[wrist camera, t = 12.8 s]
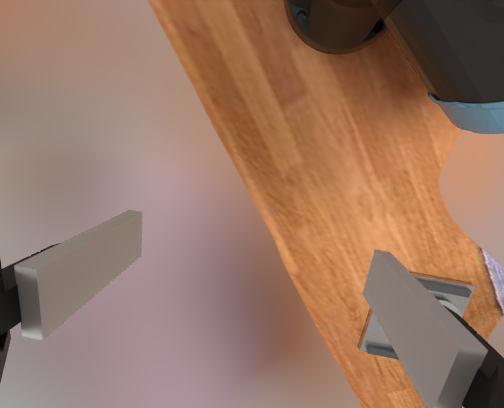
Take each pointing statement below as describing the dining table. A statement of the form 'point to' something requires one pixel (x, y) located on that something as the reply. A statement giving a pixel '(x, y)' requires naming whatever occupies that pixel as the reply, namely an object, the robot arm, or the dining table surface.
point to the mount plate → (439, 287)
